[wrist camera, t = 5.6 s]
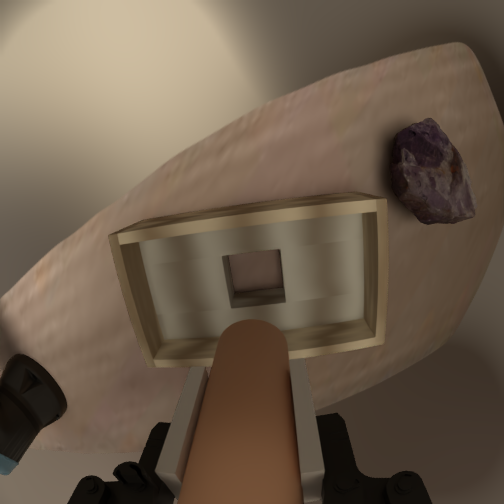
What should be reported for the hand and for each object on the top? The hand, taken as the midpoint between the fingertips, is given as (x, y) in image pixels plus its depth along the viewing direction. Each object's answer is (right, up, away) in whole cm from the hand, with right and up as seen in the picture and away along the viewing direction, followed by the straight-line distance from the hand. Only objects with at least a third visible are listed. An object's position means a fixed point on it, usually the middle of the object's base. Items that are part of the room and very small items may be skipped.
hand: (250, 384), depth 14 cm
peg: (0, +1, +3) cm, 3 cm away
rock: (+19, +15, +15) cm, 28 cm away
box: (0, +5, +18) cm, 19 cm away
